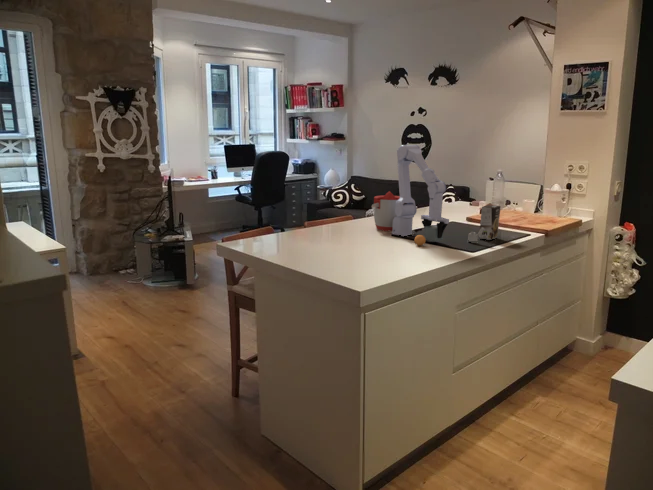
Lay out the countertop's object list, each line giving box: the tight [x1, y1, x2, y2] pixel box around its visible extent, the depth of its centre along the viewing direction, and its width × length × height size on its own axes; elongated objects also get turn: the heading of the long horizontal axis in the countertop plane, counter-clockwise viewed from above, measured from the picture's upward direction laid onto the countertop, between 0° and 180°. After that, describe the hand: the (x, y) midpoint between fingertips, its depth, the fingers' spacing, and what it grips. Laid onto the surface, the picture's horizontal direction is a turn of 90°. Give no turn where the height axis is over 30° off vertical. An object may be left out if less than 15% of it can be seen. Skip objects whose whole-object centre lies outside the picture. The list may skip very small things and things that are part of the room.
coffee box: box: [478, 204, 501, 239], centre depth 248 cm, size 9×6×16 cm
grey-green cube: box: [423, 224, 445, 242], centre depth 238 cm, size 6×6×6 cm
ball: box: [414, 234, 427, 247], centre depth 232 cm, size 5×5×5 cm
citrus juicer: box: [371, 190, 400, 232], centre depth 266 cm, size 16×17×20 cm
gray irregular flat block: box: [467, 227, 485, 241], centre depth 238 cm, size 7×2×8 cm, turn 51°
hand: (433, 236), depth 238 cm, fingers closed on grey-green cube, 6 cm apart
